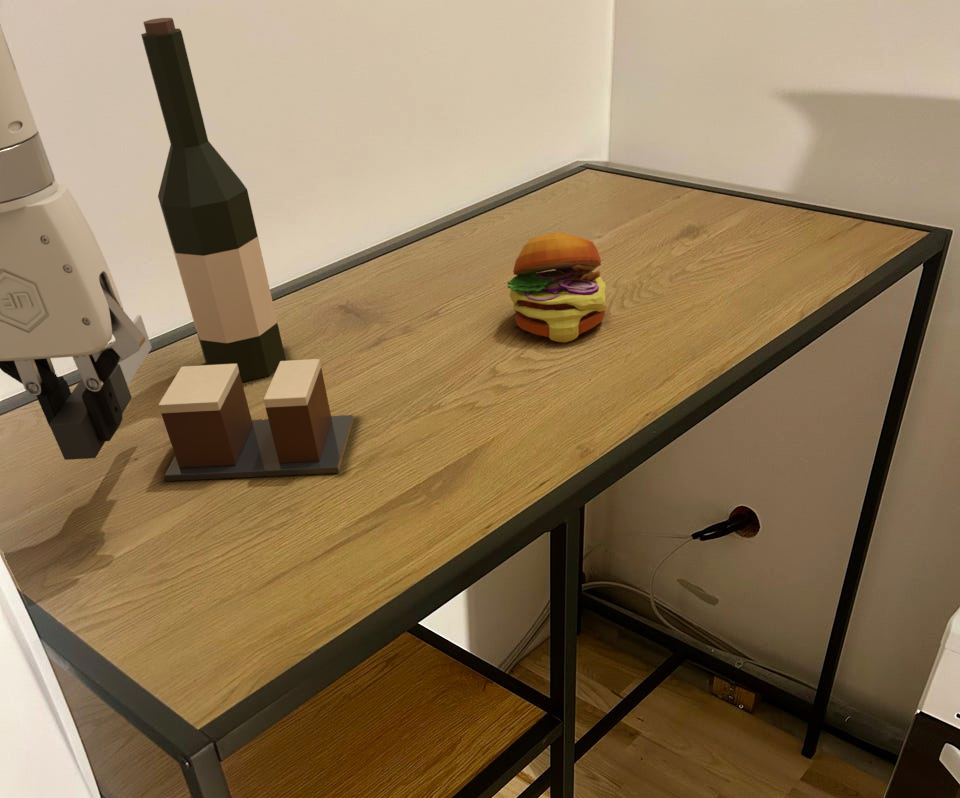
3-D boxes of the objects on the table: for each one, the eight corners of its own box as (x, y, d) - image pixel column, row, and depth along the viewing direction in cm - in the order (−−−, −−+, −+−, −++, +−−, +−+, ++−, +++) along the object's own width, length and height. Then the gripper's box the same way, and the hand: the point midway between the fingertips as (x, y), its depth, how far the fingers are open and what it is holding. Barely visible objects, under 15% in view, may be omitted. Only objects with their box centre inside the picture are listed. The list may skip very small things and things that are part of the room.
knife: (95, 458, 70) (80, 422, 68) (64, 460, 70) (48, 424, 68) (163, 347, 83) (152, 314, 81) (137, 348, 84) (125, 315, 82)
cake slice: (279, 463, 81) (263, 399, 77) (294, 422, 86) (279, 360, 82) (319, 461, 81) (305, 396, 77) (332, 420, 86) (319, 358, 82)
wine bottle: (278, 380, 94) (195, 25, 74) (196, 385, 95) (92, 34, 75) (293, 344, 100) (219, 7, 81) (216, 349, 101) (124, 16, 81)
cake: (178, 468, 82) (157, 404, 78) (200, 427, 87) (181, 366, 83) (235, 465, 81) (217, 401, 77) (253, 425, 87) (237, 363, 83)
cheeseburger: (513, 349, 95) (504, 242, 90) (509, 331, 104) (501, 233, 100) (614, 339, 95) (611, 231, 90) (602, 322, 104) (598, 222, 99)
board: (166, 481, 81) (164, 475, 81) (194, 428, 88) (192, 422, 88) (338, 473, 80) (337, 467, 80) (353, 420, 87) (352, 414, 87)
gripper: (-163, 203, 58) (-31, 465, 70) (90, 182, 57) (180, 453, 69) (-102, 167, 64) (11, 415, 76) (130, 147, 62) (207, 404, 74)
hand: (91, 431), depth 72 cm, fingers closed on knife, 2 cm apart
